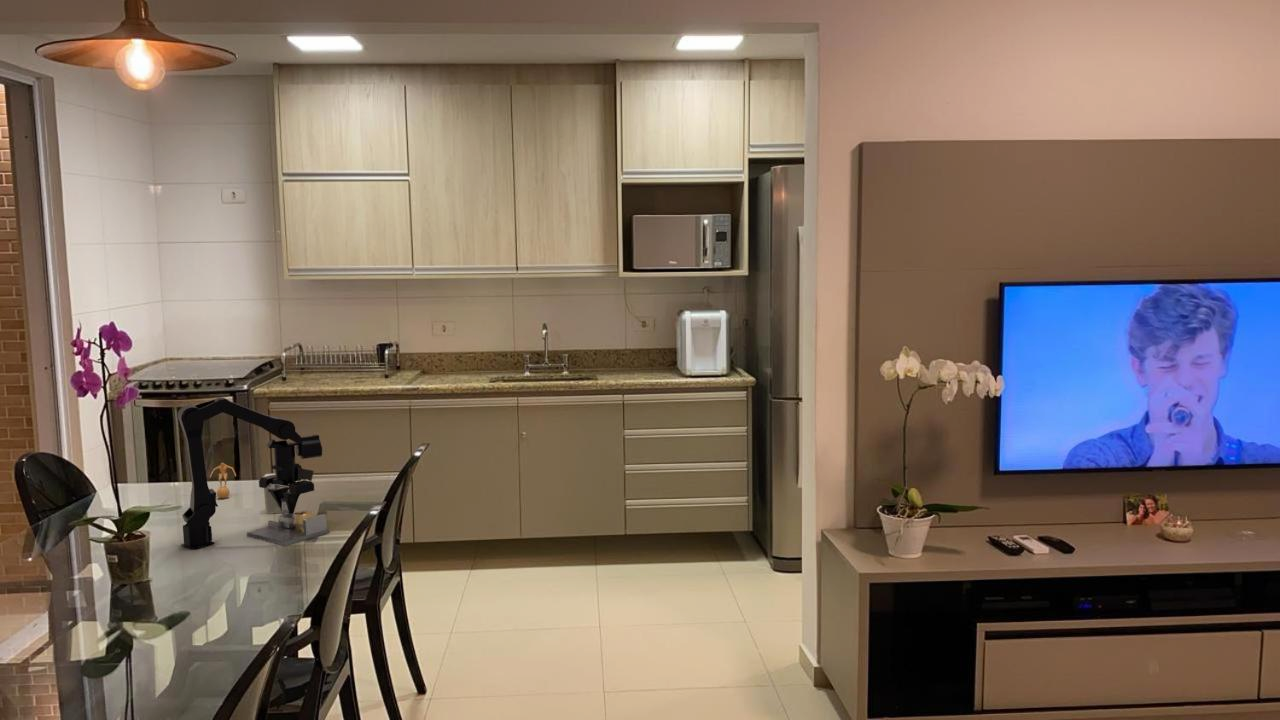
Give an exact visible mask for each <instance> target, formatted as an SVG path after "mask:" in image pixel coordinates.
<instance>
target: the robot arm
mask: <svg viewBox="0 0 1280 720" xmlns="http://www.w3.org/2000/svg"><path fill="white" fill-rule="evenodd" d="M223 413H224V414H226V415H229V416H232V417H234V418H236V419H239V420H242V421H244V422H246V423H249V424H252V425H254V426H258V427H259V428H262V429H263V430H265V431H267V432H268V433H270V434H272V436H275V437H277V438H279V439H280V440H275V439H274V438H271V439H270V441H269V442H268V443H266V444H265V445H266V447H267V448H268V449H273V455H274V457H273V458H274V464H273V465H271V470H275V471H274V473H275V475H270V476H266V477H263V476H261V477H260V479H259V480H258V487H259V488H262V489H264V488H266V487H267V486H268V485H270V489H268V492H270V493H271V495H272V496H273V498H274V499H275V501H276V502H277V504H278V506H279V507H280V509H281V511H282V502H281V497H283V496H284V498H285V501H286V504H287V508H288V510H289V513H290V514H293V513H294V514H295V511H296V507H297V504H298V500H299V498H300V496H301V495H302V494H307V493H311V492H314V491H315V483H314V482H313V481H312V480H313V477H314V472H315V470H311V469H305V468H302V464H301V465H300V464H299V462H298V463H297V462H296V456H297V457H299V458H300V459H301V460H305V459H313V458H320V457H322V455H323V446H322V442H321V440H320V435H319V434H311V435H305V436H304V435H303V436H301V435H300V434H299V433H298V432H297V431H296V425H295V424H294V423H293V422H292V421H290V420H288V419H287V418H284V417H280V416H276V415H269V414H264V413H262V412H258V411H257V410H254V409H251V408H248V407H246V406H243V405H242V404H239V403H237V402H234V401H231V400H229V399H227V398H225V397H223V396H219V397H217V398H214V399H211V400H209V401H205V402H201V403H197V404H196V405H193V404H186V405H183V406H182V407H181V408H180V409H179V411H178V412H177V418H178V421H179V425H180V427H181V430H182V433H183V435H184V438H185V442H186V449H187V457H188V464H189V473H190V480H191V491H190V502H189V503H190V504H189V508H188V509H187V510H186V511H184V513H183V514H182V515H181V517H182V519H183V521H184V522H185V524H183V525H182V535H183V543H181V544H180V547H184V548H187V549H190V550H197V549H201V548H202V547H203V548H204V547H208V546H210V545H214V544H215V541H213V532H212V526H211V523H210V518H212V517H213V516H214V515H215V514H216V509H217V507H219V505H218V503H217V491H215V489H213V488H209V485H208V479H207V478H208V477H207V470H206V463H205V462H206V461H205V455H204V447H203V439H202V436H203V431H204V421H207V420H210V419H211V418H214V417H217V416H218V415H220V414H223ZM287 440H290V441H292V442H288V441H287Z"/></svg>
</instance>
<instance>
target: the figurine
mask: <svg viewBox="0 0 1280 720" xmlns="http://www.w3.org/2000/svg"><path fill="white" fill-rule="evenodd" d="M218 469H219V471H220V473H218V481H219V483H220V484H219V487H218V489H217V491H216V497H218V498H219V499H221V500H222V499H226V498H227V499H228V497H229V495H230V493H231V492H230V489H229V488H228V486H227V481H228V480H227V479H228V473H227V469H231V470H232V472H233V474H234V475H233V476H234V477H237V474H236V471H235V469H234V467H232V466H229V465H227V464H226V463H224V462H221V463H220V465H218V466H216V467H214V468H213V469H212V471H211V473H210V475H209V479H211V478H212V475H213V473H214V472H215V471H216V470H218ZM222 479H224V486H222V485H223V482H222Z"/></svg>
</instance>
